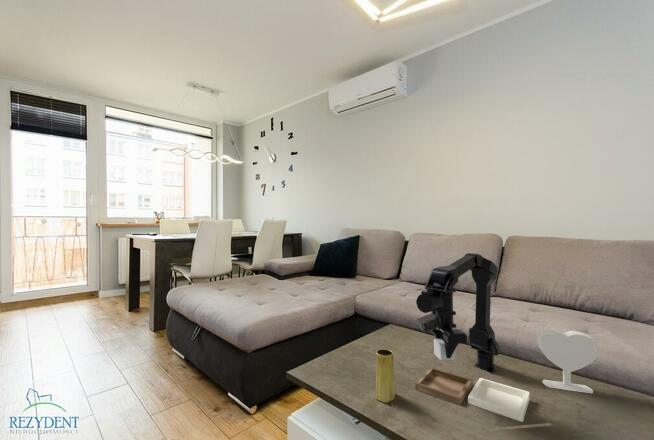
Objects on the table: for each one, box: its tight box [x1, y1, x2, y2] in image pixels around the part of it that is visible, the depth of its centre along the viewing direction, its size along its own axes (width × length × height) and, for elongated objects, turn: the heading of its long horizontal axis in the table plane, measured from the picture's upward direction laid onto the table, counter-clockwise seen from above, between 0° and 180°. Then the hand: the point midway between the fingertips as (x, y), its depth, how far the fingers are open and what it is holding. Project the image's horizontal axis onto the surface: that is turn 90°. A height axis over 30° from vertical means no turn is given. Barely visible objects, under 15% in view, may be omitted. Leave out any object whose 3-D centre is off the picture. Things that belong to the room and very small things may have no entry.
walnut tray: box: [414, 366, 474, 406], centre depth 101 cm, size 14×14×2 cm
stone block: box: [433, 338, 457, 361], centre depth 101 cm, size 5×5×5 cm
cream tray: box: [467, 377, 531, 423], centre depth 93 cm, size 14×14×2 cm
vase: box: [375, 348, 396, 404], centre depth 97 cm, size 6×6×14 cm
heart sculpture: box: [536, 328, 599, 394], centre depth 101 cm, size 16×5×18 cm, turn 69°
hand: (444, 354), depth 101 cm, fingers closed on stone block, 5 cm apart
